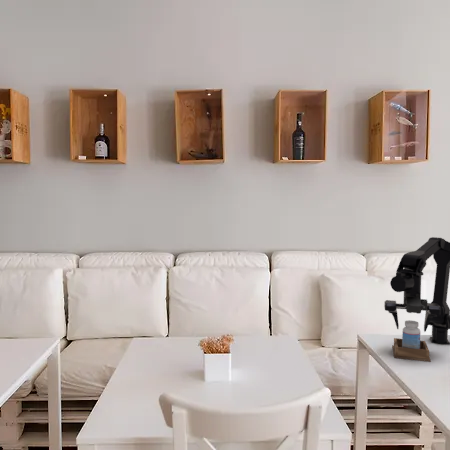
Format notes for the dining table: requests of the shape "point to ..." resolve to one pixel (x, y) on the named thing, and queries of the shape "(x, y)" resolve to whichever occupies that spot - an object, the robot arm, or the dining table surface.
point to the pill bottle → (411, 335)
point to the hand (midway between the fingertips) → (411, 330)
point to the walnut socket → (411, 351)
